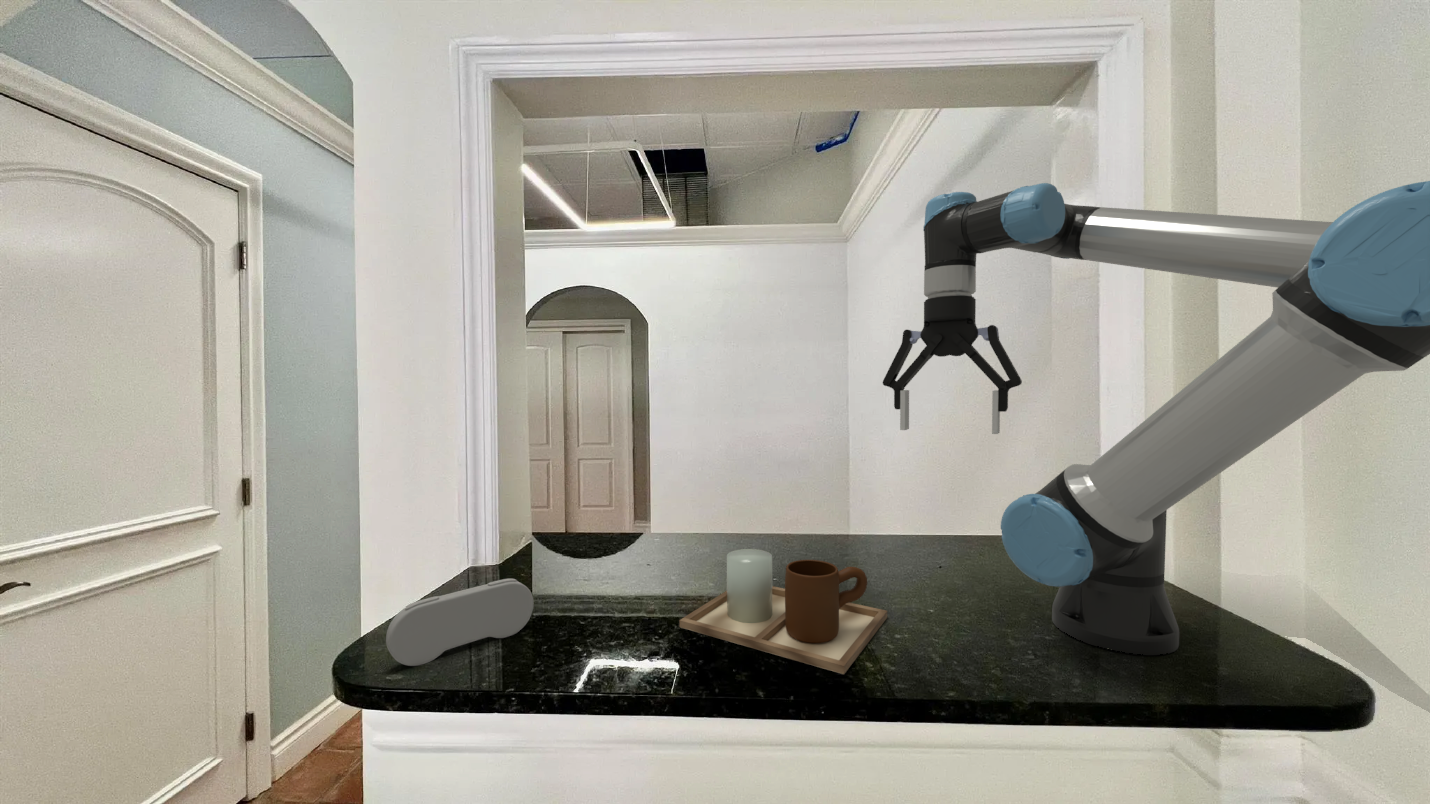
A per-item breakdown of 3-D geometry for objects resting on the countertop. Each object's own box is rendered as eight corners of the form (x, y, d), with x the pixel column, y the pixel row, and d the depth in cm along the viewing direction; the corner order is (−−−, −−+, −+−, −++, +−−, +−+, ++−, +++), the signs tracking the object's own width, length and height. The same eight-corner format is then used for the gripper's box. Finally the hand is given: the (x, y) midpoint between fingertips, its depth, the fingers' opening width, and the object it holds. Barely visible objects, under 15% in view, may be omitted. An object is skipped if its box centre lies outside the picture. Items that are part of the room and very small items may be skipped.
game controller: (528, 624, 87) (527, 571, 87) (534, 628, 85) (533, 575, 85) (386, 669, 74) (383, 607, 73) (390, 675, 72) (388, 612, 72)
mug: (856, 617, 85) (856, 556, 84) (877, 640, 77) (878, 573, 77) (779, 622, 83) (779, 560, 83) (793, 647, 76) (793, 578, 75)
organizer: (887, 625, 85) (887, 610, 85) (844, 683, 69) (844, 666, 69) (743, 592, 98) (743, 579, 98) (679, 634, 82) (679, 620, 82)
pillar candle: (780, 610, 88) (779, 553, 87) (759, 627, 82) (758, 566, 82) (741, 600, 92) (741, 546, 91) (718, 616, 86) (718, 558, 85)
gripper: (1042, 292, 85) (1039, 432, 86) (877, 305, 98) (877, 426, 99) (1039, 286, 78) (1037, 437, 79) (863, 301, 92) (863, 430, 93)
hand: (948, 431), depth 89 cm, fingers open, 13 cm apart
